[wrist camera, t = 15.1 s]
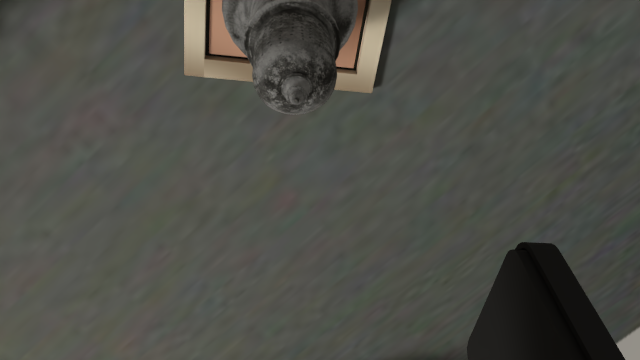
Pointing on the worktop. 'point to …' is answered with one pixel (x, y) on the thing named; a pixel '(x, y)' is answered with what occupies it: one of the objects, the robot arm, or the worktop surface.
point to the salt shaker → (291, 47)
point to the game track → (242, 69)
